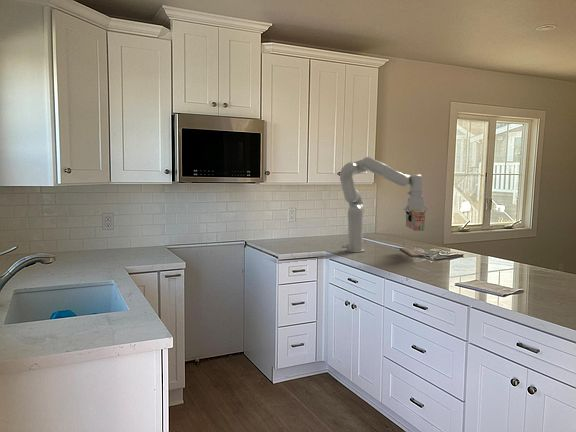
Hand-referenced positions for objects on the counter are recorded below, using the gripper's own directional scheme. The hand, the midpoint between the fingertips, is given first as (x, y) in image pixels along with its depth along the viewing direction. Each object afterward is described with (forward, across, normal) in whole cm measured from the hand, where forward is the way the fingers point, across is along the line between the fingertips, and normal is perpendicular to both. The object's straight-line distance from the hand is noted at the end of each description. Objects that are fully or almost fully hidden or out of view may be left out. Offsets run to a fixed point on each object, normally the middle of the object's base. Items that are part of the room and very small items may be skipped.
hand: (415, 221), depth 302 cm
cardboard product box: (+5, 0, +1) cm, 5 cm away
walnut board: (+21, 0, 0) cm, 21 cm away
